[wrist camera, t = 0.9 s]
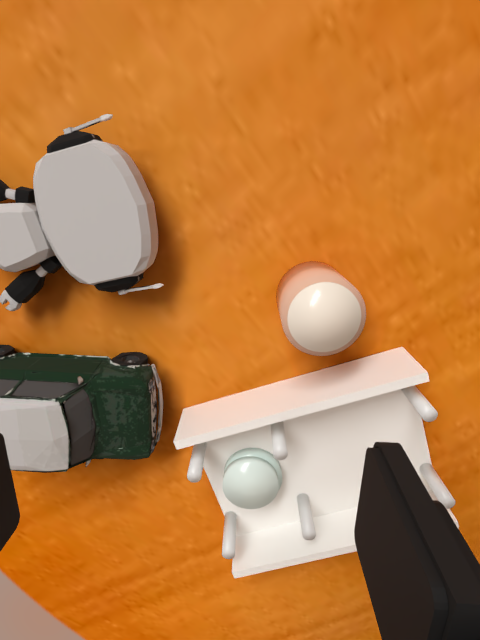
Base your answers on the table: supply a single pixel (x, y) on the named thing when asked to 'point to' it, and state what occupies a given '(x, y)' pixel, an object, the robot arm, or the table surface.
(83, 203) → the robot toy
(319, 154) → the table surface
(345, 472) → the rack
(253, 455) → the mint green dome knob
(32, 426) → the miniature car
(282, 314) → the tumbler
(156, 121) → the table surface
